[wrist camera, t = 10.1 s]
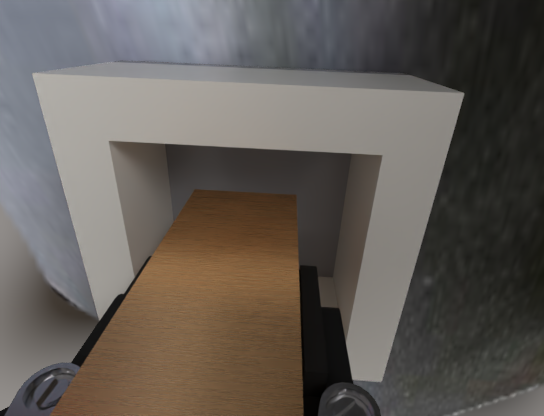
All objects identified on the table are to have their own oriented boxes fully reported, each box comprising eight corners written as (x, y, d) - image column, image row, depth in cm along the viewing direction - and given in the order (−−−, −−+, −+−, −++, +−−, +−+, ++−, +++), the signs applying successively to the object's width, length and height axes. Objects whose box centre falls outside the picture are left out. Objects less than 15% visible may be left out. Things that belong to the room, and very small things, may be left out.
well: (404, 73, 15) (464, 93, 10) (359, 294, 21) (381, 382, 16) (121, 60, 16) (31, 73, 10) (155, 281, 22) (110, 361, 16)
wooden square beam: (296, 194, 13) (320, 901, 2) (288, 294, 15) (282, 884, 5) (194, 189, 13) (-219, 835, 2) (202, 288, 15) (1, 850, 5)
